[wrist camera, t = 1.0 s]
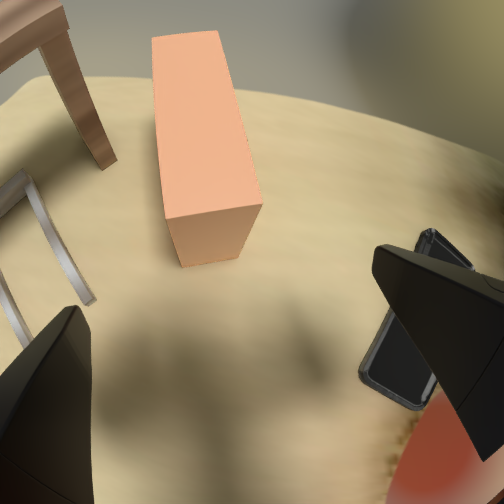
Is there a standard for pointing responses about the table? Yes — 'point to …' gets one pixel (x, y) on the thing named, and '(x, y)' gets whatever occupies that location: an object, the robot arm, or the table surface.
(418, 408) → the phone
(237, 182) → the terracotta panel
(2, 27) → the walnut bridge
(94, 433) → the table surface
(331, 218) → the table surface
